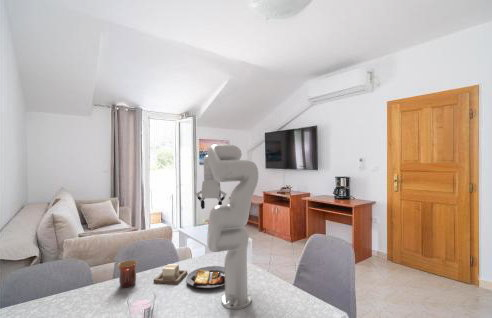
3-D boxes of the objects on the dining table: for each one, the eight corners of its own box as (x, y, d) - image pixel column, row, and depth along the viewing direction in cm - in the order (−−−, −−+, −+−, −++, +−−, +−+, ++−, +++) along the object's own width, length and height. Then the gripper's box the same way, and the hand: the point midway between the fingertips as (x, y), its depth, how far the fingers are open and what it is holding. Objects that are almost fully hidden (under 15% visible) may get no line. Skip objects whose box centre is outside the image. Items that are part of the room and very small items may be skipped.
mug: (118, 282, 128) (118, 261, 128) (137, 279, 131) (137, 259, 131) (116, 293, 117) (116, 271, 117) (137, 289, 120) (136, 267, 120)
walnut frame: (177, 284, 125) (177, 281, 125) (153, 282, 127) (153, 279, 127) (187, 273, 137) (187, 270, 137) (165, 272, 139) (165, 269, 139)
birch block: (173, 281, 128) (173, 269, 128) (162, 280, 129) (162, 268, 129) (179, 276, 134) (178, 264, 134) (168, 275, 135) (168, 263, 135)
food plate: (232, 291, 116) (232, 283, 116) (181, 292, 117) (180, 284, 117) (235, 270, 141) (235, 263, 141) (193, 271, 142) (193, 264, 142)
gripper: (227, 177, 144) (228, 207, 144) (198, 177, 147) (198, 207, 147) (224, 177, 137) (224, 210, 137) (193, 178, 140) (194, 209, 140)
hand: (211, 208), depth 142 cm, fingers open, 9 cm apart
